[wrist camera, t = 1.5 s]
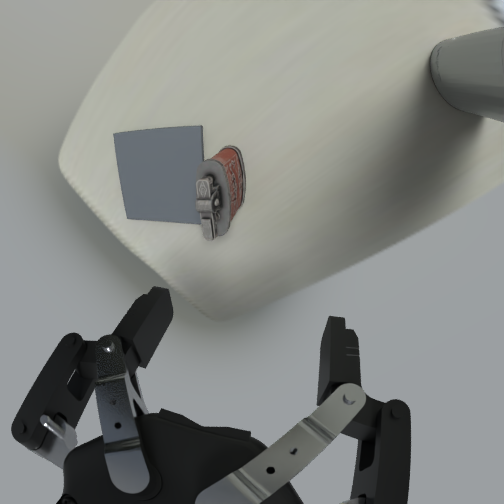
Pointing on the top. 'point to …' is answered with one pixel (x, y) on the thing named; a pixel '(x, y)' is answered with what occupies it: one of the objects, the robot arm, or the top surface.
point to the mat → (160, 172)
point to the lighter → (220, 190)
